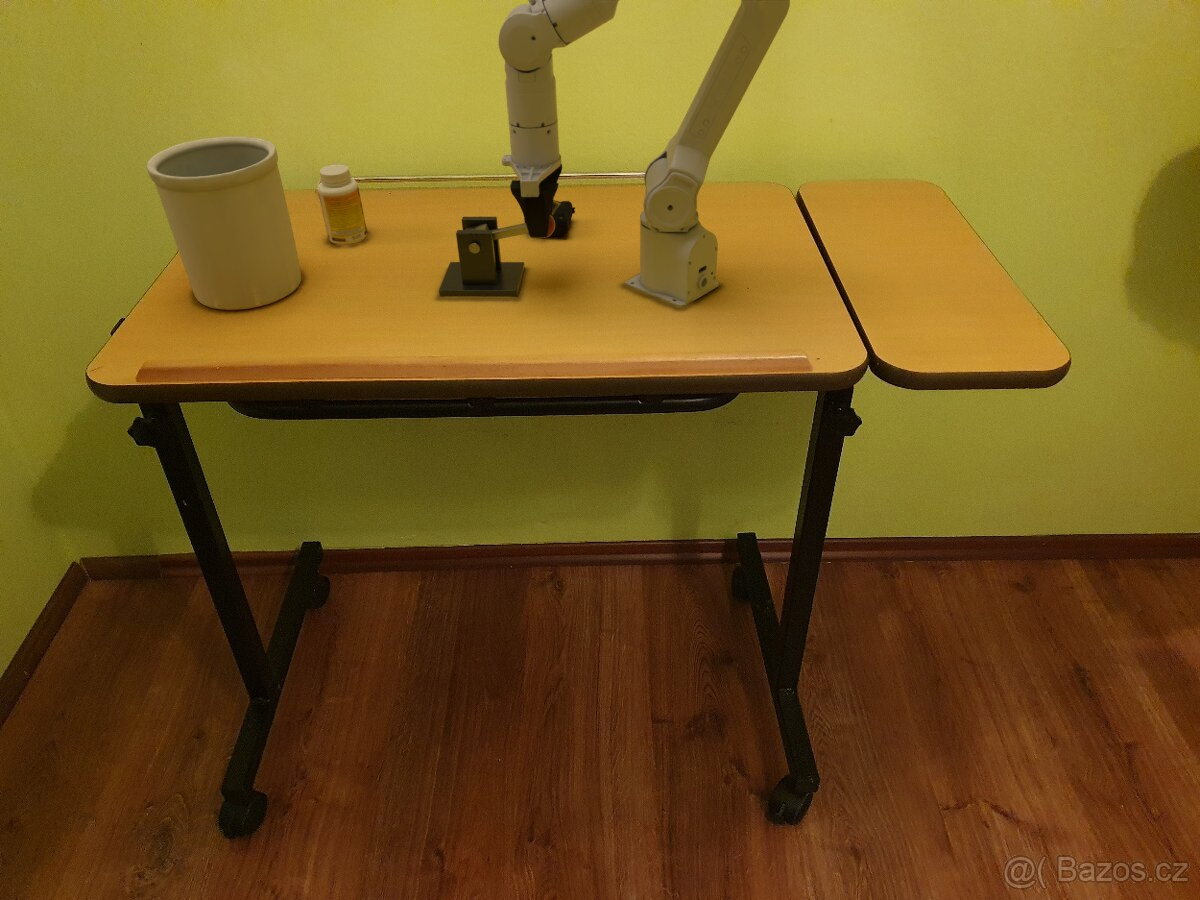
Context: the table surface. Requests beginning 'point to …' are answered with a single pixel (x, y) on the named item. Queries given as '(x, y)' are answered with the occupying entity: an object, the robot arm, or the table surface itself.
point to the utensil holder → (229, 220)
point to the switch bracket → (481, 264)
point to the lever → (512, 230)
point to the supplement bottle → (341, 205)
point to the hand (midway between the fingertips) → (540, 229)
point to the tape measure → (561, 217)
